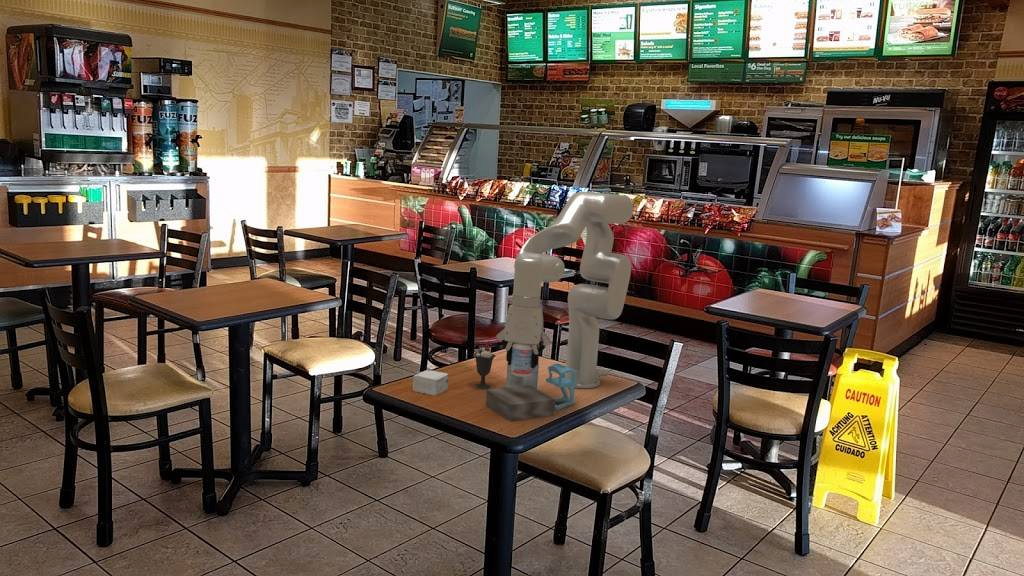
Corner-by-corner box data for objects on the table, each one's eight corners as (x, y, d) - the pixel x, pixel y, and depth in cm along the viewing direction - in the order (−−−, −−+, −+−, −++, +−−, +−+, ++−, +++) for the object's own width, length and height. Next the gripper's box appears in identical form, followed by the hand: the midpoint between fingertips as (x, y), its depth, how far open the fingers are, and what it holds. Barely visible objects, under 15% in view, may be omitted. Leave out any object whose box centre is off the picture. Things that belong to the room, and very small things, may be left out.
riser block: (528, 401, 228) (529, 385, 227) (553, 416, 216) (555, 399, 215) (485, 406, 221) (486, 389, 220) (509, 422, 209) (511, 404, 208)
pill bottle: (514, 377, 212) (516, 337, 211) (507, 371, 218) (510, 332, 216) (535, 377, 214) (538, 337, 212) (528, 371, 220) (531, 332, 218)
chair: (579, 406, 225) (582, 365, 223) (556, 409, 220) (559, 368, 218) (563, 398, 231) (566, 359, 229) (540, 402, 227) (543, 362, 225)
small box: (435, 396, 226) (435, 379, 226) (412, 391, 230) (412, 375, 229) (448, 389, 233) (449, 373, 233) (425, 385, 237) (426, 369, 236)
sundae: (491, 391, 234) (493, 342, 232) (469, 388, 235) (471, 340, 233) (495, 385, 240) (498, 337, 238) (474, 382, 242) (477, 335, 239)
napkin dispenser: (520, 386, 241) (522, 353, 239) (536, 395, 232) (539, 361, 231) (505, 387, 238) (507, 354, 237) (521, 397, 230) (523, 363, 228)
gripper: (492, 300, 212) (488, 364, 214) (553, 307, 207) (549, 373, 210) (500, 296, 219) (496, 358, 222) (560, 303, 214) (555, 366, 217)
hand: (522, 365), depth 216 cm, fingers closed on pill bottle, 6 cm apart
